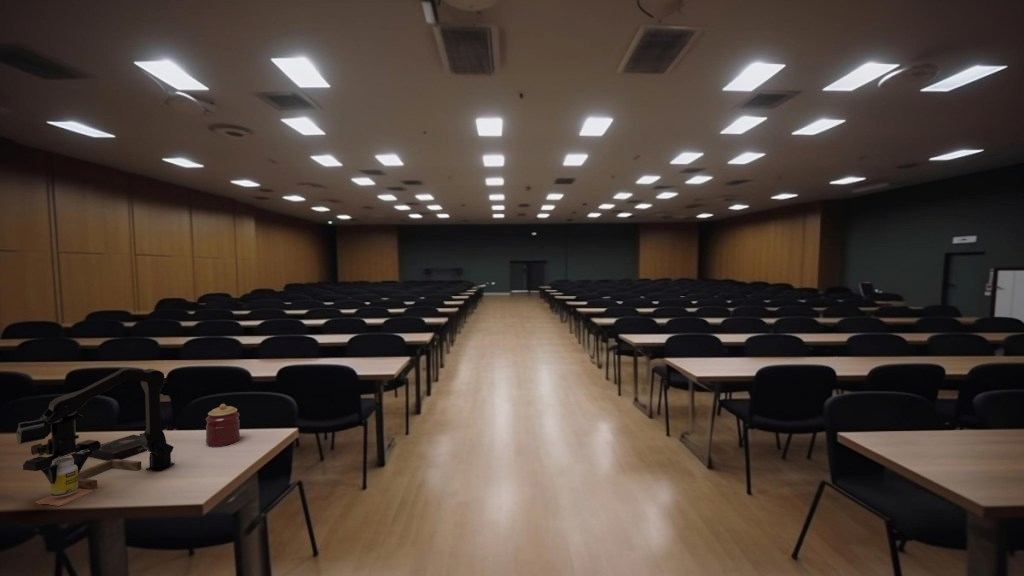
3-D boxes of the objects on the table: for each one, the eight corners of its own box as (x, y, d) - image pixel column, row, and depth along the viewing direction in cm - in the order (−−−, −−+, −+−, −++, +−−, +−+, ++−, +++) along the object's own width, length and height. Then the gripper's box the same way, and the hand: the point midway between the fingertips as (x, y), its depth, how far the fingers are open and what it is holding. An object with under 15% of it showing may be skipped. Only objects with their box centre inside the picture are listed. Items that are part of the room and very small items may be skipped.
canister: (246, 437, 201) (246, 400, 200) (225, 448, 188) (225, 409, 187) (221, 435, 202) (220, 399, 201) (198, 446, 189) (198, 407, 188)
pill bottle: (60, 499, 142) (59, 465, 141) (46, 497, 143) (44, 463, 143) (83, 489, 148) (82, 457, 148) (69, 487, 149) (68, 455, 149)
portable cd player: (132, 442, 194) (132, 434, 193) (158, 448, 188) (158, 439, 188) (87, 457, 178) (87, 448, 178) (114, 463, 173) (113, 453, 173)
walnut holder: (141, 468, 167) (141, 461, 167) (92, 490, 150) (92, 482, 150) (112, 466, 169) (112, 458, 169) (61, 487, 152) (61, 478, 152)
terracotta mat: (93, 491, 150) (93, 490, 150) (59, 506, 140) (59, 505, 140) (70, 488, 151) (70, 487, 151) (34, 503, 141) (34, 502, 141)
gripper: (76, 423, 155) (77, 465, 156) (8, 443, 137) (10, 490, 137) (101, 425, 154) (102, 467, 154) (36, 445, 135) (37, 493, 136)
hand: (64, 479), depth 145 cm, fingers closed on pill bottle, 6 cm apart
